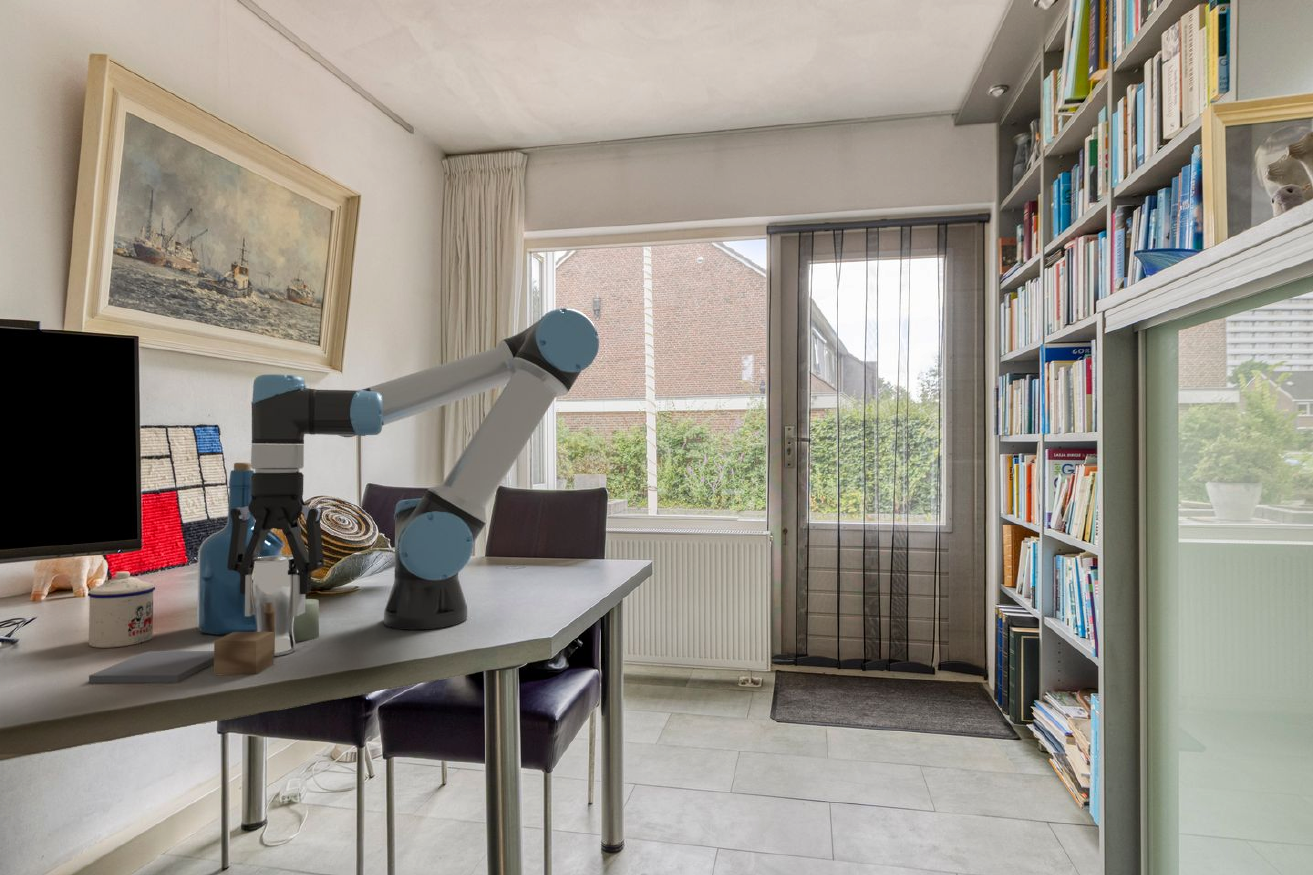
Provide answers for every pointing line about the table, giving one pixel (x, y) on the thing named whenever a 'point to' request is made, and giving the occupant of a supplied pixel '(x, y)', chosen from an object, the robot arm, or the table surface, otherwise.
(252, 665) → the walnut block
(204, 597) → the wine bottle
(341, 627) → the table surface
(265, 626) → the beer glass
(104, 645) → the teacup with lid
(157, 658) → the charcoal mat
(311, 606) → the pale green rounded cube
